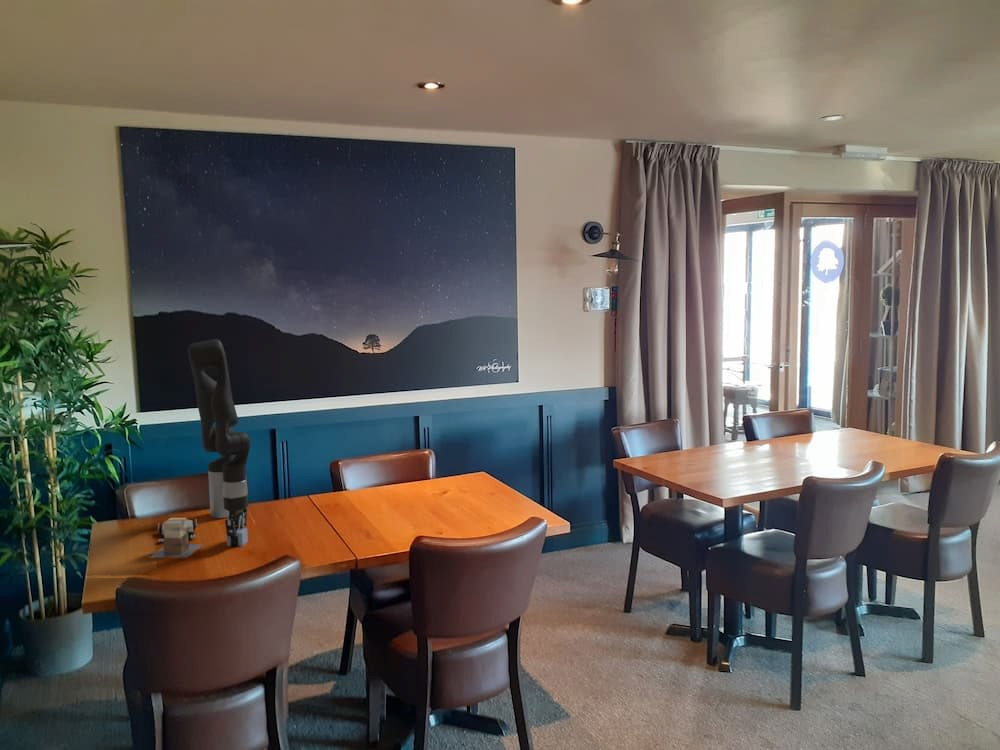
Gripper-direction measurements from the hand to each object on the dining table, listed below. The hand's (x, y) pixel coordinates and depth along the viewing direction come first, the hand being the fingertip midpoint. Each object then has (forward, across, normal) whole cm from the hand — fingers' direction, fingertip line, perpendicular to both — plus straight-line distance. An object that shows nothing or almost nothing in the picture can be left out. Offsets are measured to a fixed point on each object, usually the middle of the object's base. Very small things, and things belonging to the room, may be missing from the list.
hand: (237, 544), depth 244 cm
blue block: (0, 0, 0) cm, 0 cm away
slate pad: (0, +7, -17) cm, 18 cm away
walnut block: (0, +7, -17) cm, 18 cm away
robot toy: (+1, -8, -23) cm, 24 cm away
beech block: (-5, +7, -17) cm, 19 cm away
